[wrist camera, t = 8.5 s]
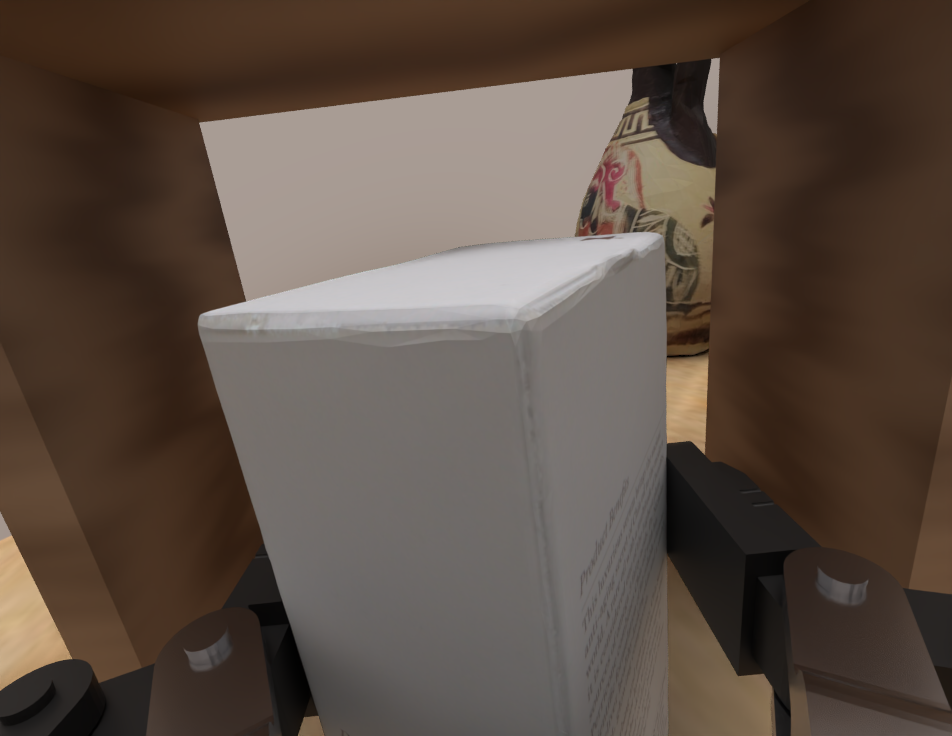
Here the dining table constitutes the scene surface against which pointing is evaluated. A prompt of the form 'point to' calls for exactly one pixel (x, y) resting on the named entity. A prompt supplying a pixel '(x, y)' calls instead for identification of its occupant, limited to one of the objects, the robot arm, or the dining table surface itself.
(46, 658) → the dining table surface
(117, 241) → the tunnel
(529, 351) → the skincare box
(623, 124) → the ceramic jug
